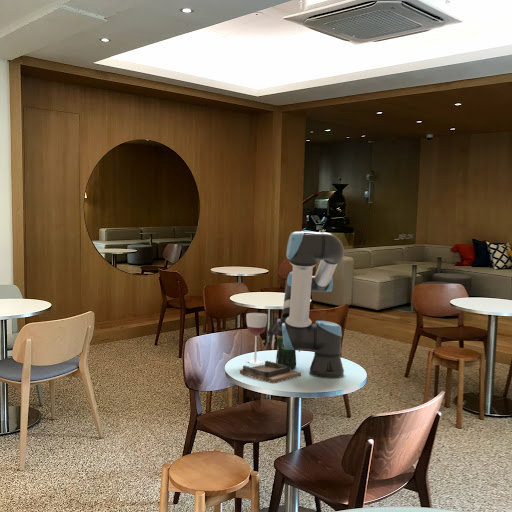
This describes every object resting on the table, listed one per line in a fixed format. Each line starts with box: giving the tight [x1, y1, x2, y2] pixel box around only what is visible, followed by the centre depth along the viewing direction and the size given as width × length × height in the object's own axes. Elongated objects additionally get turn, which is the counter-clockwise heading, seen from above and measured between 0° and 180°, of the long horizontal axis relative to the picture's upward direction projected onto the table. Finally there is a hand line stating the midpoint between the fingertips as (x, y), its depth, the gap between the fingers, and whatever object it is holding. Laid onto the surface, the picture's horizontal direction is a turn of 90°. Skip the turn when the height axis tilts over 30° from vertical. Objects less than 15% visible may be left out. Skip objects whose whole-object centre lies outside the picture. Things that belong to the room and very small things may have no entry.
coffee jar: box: [275, 326, 297, 369], centre depth 263 cm, size 10×8×19 cm
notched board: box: [239, 360, 302, 384], centre depth 249 cm, size 20×18×4 cm
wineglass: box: [245, 312, 268, 363], centre depth 270 cm, size 9×10×23 cm
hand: (285, 349), depth 261 cm, fingers open, 12 cm apart
